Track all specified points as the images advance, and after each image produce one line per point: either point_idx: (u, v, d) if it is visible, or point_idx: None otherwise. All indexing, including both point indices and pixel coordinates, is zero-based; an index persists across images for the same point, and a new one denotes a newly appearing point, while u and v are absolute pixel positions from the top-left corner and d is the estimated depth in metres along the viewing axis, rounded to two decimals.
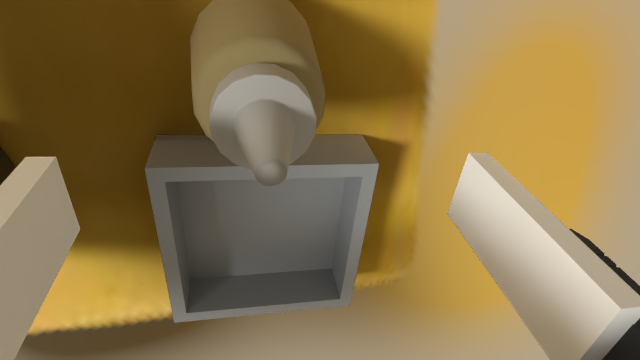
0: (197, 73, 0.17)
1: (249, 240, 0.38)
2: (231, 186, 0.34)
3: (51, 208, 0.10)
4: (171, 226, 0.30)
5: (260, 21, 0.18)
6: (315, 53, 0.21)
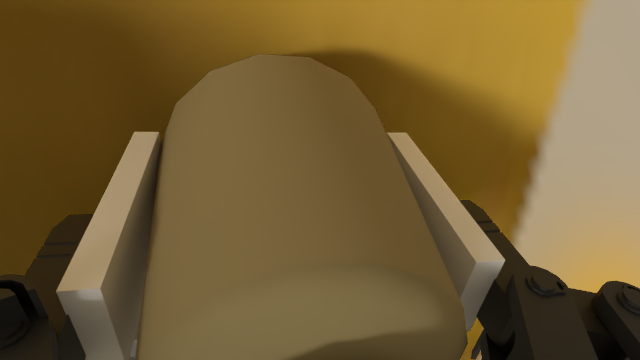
0: (145, 353, 0.06)
1: None
2: None
3: None
4: None
5: (314, 182, 0.07)
6: None
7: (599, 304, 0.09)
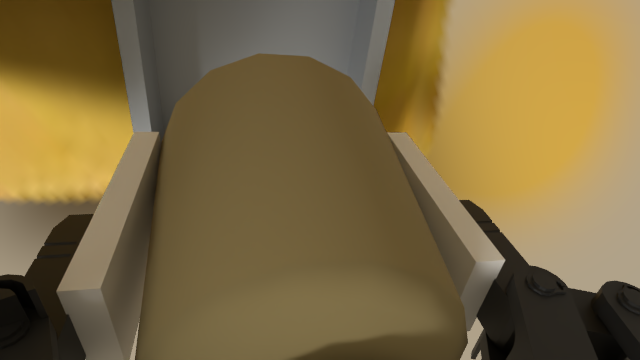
0: (145, 352, 0.06)
1: None
2: None
3: None
4: (133, 7, 0.23)
5: (314, 181, 0.07)
6: None
7: (599, 304, 0.09)
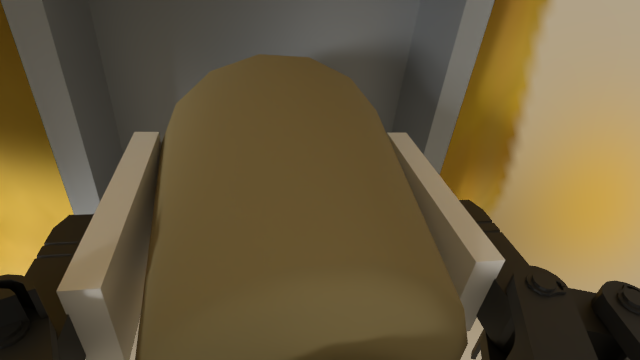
0: (146, 353, 0.06)
1: None
2: (199, 3, 0.17)
3: None
4: (52, 40, 0.13)
5: (314, 182, 0.07)
6: None
7: (599, 304, 0.09)
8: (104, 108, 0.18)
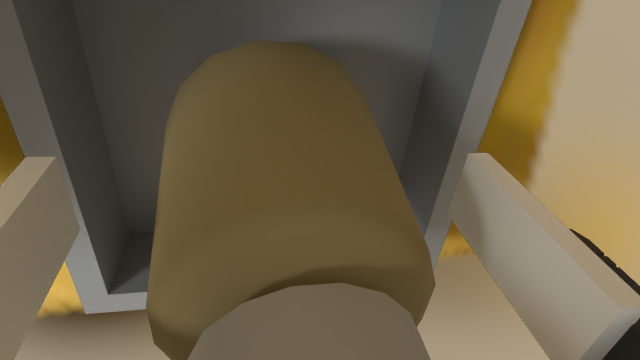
0: (157, 281, 0.07)
1: None
2: (197, 14, 0.15)
3: (51, 208, 0.10)
4: (30, 60, 0.12)
5: (300, 142, 0.08)
6: None
7: None
8: (93, 129, 0.16)
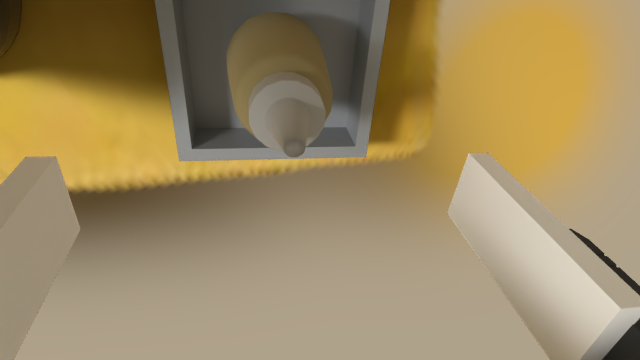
0: (238, 80, 0.24)
1: None
2: (238, 2, 0.32)
3: (51, 208, 0.10)
4: (174, 20, 0.28)
5: (283, 40, 0.25)
6: None
7: None
8: (186, 61, 0.33)
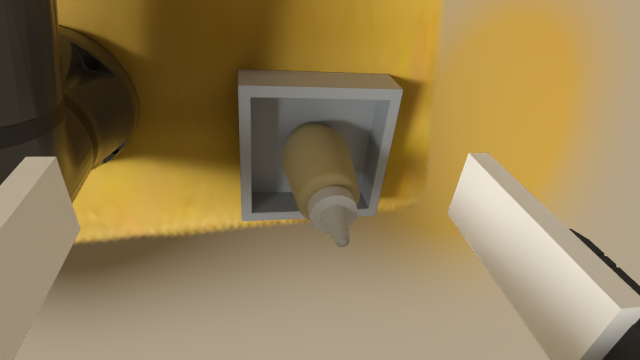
0: (301, 188, 0.37)
1: None
2: (289, 112, 0.45)
3: (51, 208, 0.10)
4: (250, 134, 0.41)
5: (329, 159, 0.38)
6: (353, 167, 0.40)
7: None
8: None
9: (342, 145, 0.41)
